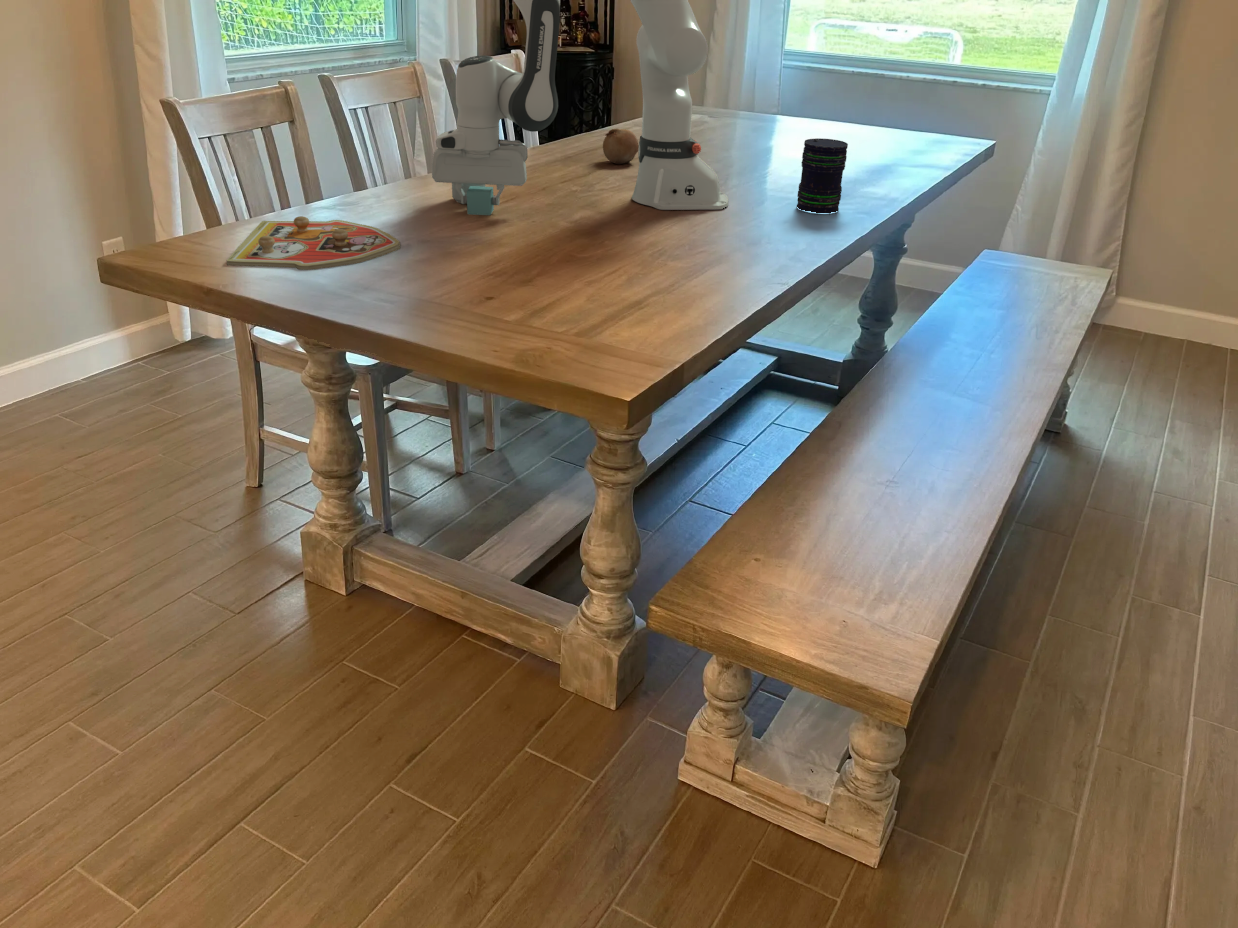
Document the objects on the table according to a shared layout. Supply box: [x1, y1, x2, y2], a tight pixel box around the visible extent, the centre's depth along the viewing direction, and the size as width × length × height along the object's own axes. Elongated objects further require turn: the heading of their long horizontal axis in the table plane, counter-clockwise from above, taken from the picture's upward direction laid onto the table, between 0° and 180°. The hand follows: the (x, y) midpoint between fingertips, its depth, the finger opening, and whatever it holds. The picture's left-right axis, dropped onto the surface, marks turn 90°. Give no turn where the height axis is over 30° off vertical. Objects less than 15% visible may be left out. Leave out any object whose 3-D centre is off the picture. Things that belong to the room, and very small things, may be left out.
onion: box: [602, 128, 639, 165], centre depth 264 cm, size 10×9×10 cm
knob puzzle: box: [226, 215, 401, 271], centre depth 192 cm, size 29×30×4 cm
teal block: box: [466, 186, 495, 216], centre depth 217 cm, size 5×5×5 cm
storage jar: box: [796, 137, 849, 213], centre depth 227 cm, size 10×10×15 cm
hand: (480, 204), depth 218 cm, fingers open, 5 cm apart
